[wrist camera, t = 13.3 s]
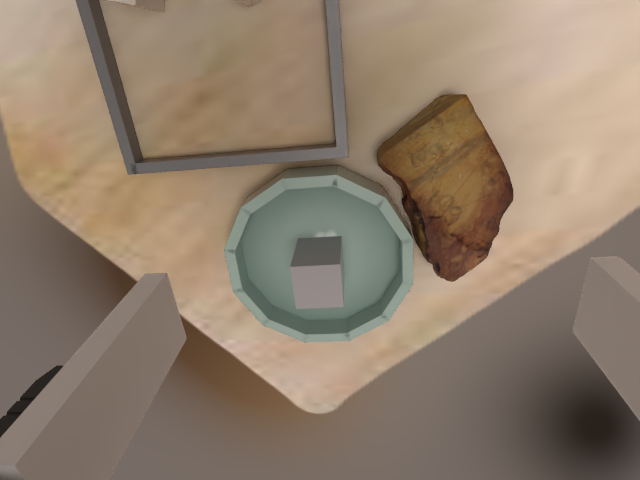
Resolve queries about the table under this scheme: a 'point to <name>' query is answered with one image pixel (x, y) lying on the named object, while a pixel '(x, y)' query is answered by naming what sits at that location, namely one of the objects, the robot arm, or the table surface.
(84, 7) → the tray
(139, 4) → the light grey block
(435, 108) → the stone
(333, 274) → the grey square pillar
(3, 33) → the table surface
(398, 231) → the bowl
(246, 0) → the pale grey block
